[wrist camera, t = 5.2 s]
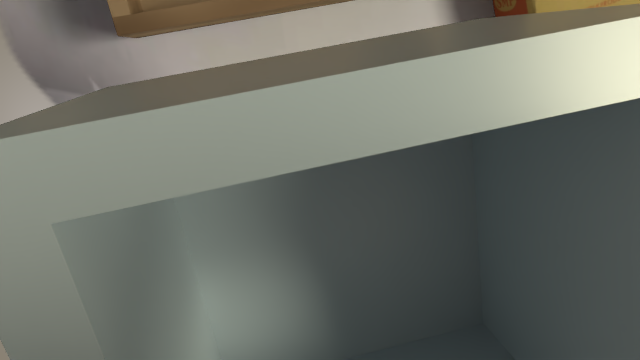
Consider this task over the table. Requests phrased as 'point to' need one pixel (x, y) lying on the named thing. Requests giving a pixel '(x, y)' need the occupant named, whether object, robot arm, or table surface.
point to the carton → (551, 5)
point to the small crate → (340, 203)
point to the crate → (194, 13)
